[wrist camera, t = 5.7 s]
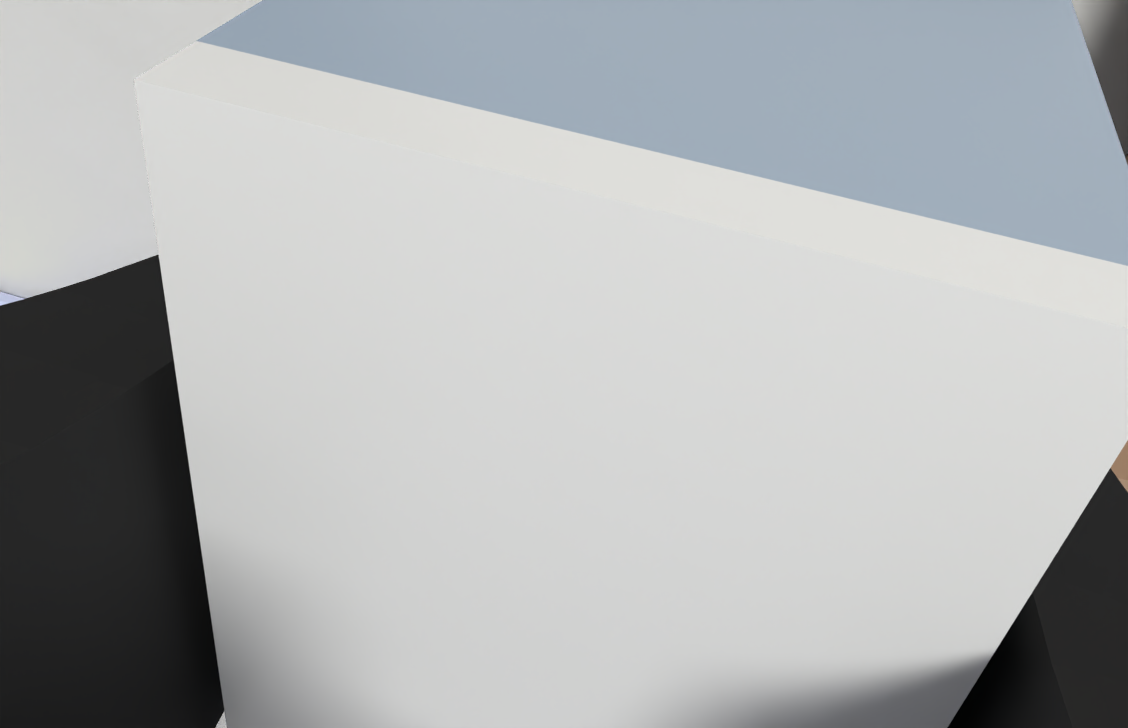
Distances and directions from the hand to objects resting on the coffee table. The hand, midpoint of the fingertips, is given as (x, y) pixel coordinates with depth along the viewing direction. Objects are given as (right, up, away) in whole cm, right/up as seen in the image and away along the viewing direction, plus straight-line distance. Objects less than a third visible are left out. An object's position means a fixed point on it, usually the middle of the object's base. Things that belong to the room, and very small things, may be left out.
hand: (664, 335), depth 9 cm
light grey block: (+1, +1, +1) cm, 2 cm away
